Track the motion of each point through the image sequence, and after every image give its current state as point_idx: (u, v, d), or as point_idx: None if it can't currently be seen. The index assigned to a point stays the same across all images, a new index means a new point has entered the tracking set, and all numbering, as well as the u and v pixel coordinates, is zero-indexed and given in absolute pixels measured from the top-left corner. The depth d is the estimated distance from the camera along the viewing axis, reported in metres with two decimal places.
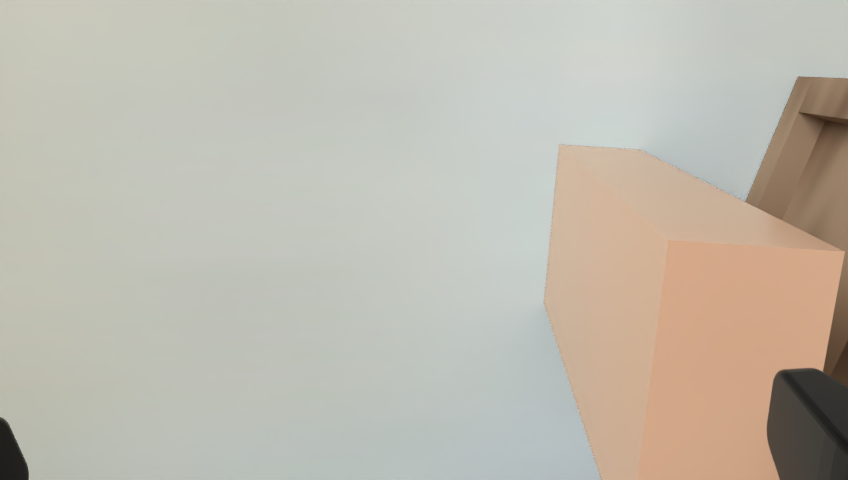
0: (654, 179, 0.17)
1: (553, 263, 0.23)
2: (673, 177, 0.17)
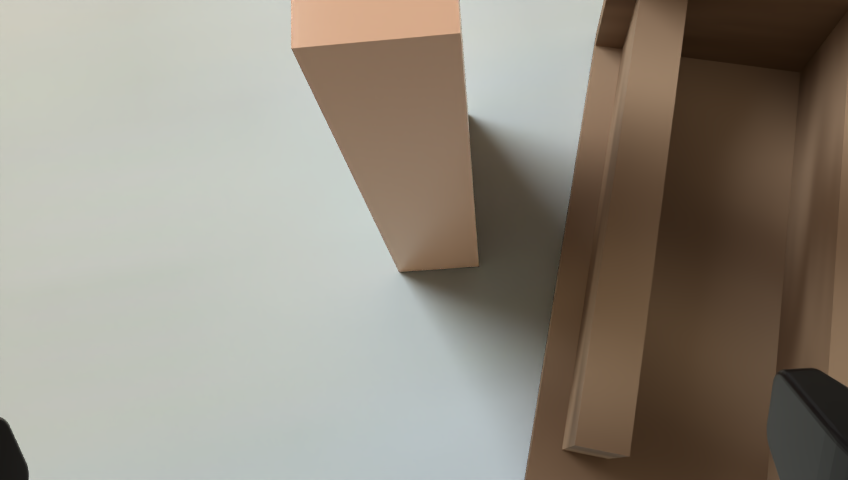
0: None
1: None
2: None
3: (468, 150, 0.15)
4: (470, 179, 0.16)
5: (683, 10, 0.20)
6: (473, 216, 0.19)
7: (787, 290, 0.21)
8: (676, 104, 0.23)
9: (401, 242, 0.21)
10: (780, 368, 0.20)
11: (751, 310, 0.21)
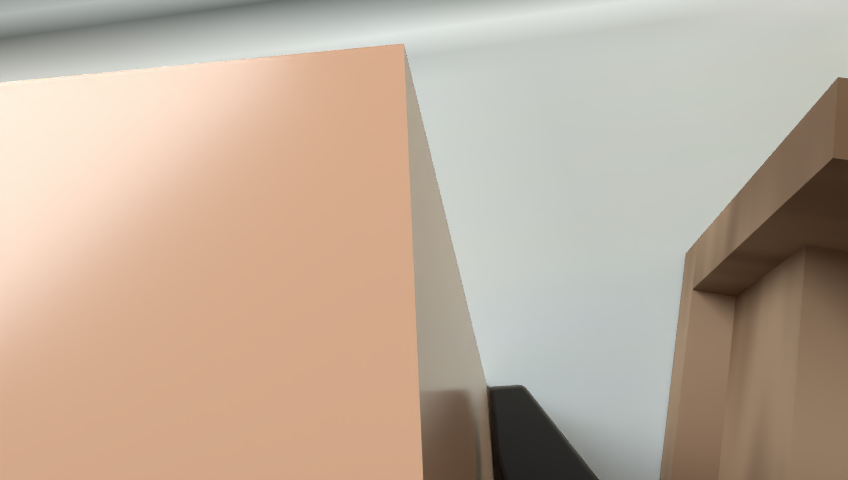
0: None
1: None
2: None
3: None
4: None
5: None
6: None
7: None
8: None
9: None
10: None
11: None
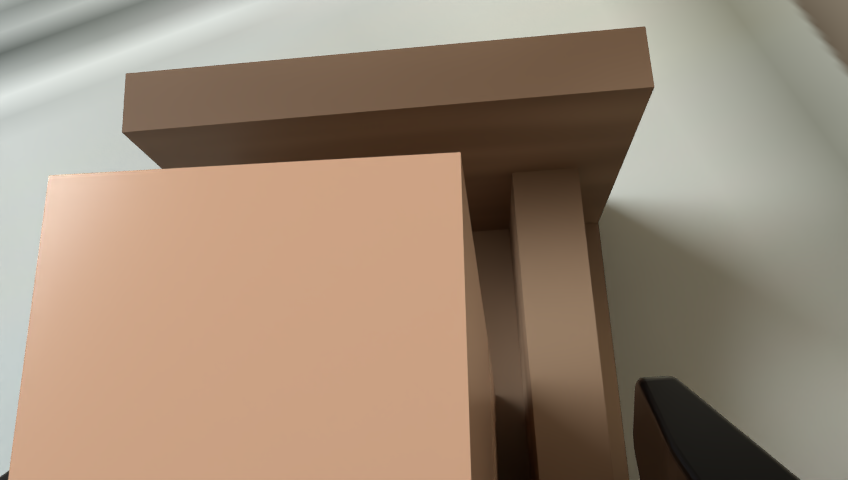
0: None
1: None
2: None
3: None
4: None
5: None
6: None
7: None
8: None
9: None
10: None
11: None
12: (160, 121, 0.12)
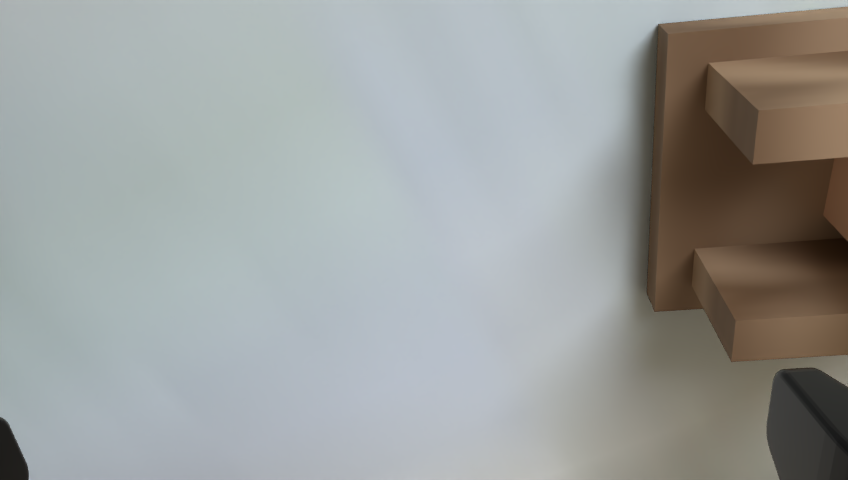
0: None
1: None
2: None
3: None
4: None
5: None
6: None
7: None
8: None
9: None
10: (816, 246, 0.21)
11: None
12: None
